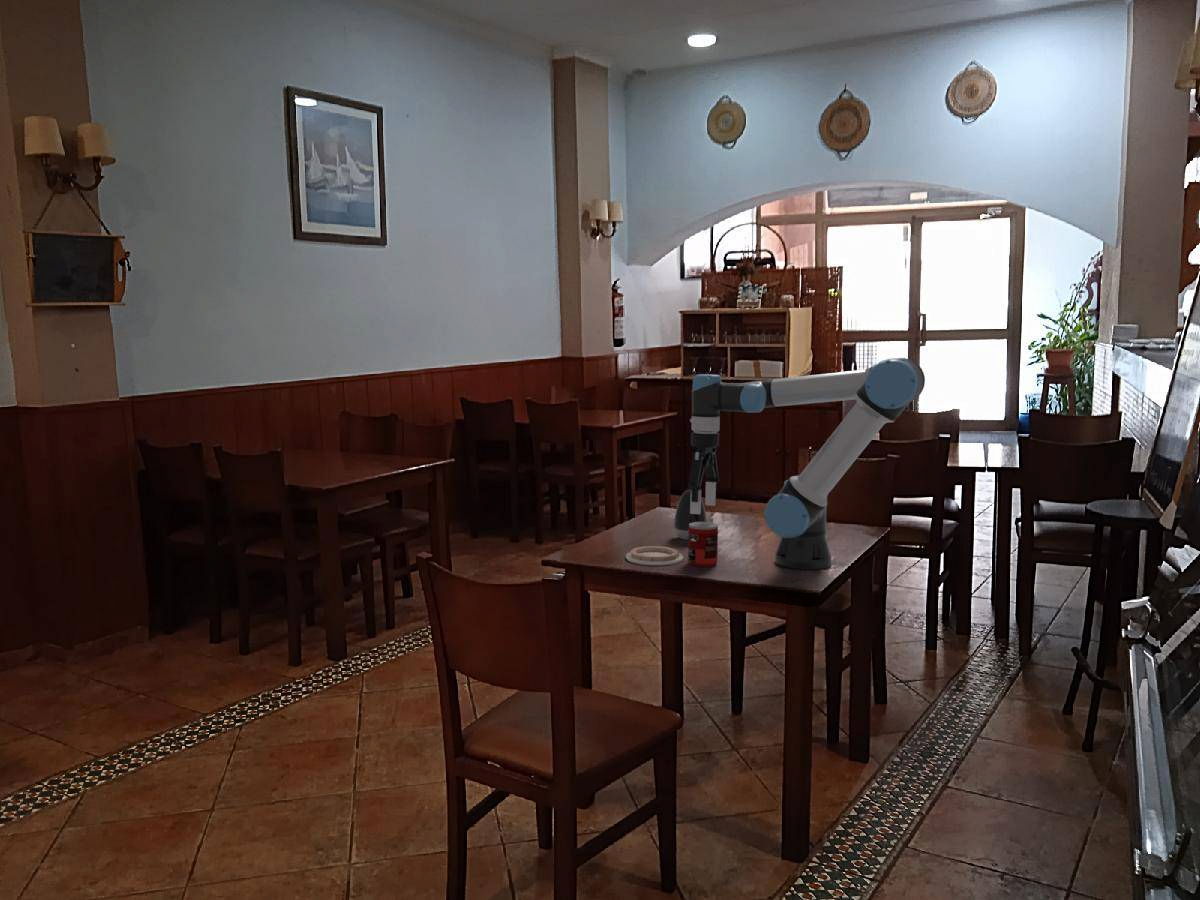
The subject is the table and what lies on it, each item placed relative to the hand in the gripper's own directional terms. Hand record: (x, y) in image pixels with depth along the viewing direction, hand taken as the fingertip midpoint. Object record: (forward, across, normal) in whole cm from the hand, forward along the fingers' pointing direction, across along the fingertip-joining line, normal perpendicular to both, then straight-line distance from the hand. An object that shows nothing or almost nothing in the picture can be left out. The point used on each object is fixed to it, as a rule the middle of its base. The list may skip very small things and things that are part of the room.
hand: (702, 509), depth 260 cm
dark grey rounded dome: (+15, -29, -13) cm, 35 cm away
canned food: (+15, 0, 0) cm, 15 cm away
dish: (+15, 0, -14) cm, 20 cm away
